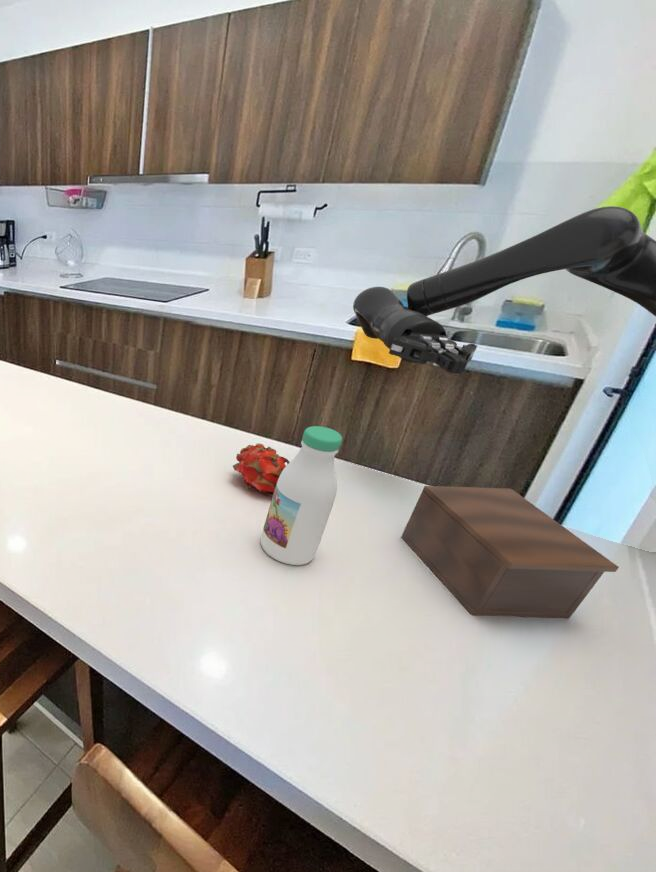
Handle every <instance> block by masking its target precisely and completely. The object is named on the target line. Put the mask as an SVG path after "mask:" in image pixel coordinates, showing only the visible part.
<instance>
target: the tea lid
mask: <svg viewBox="0 0 656 872" xmlns="http://www.w3.org/2000/svg"><path fill="white" fill-rule="evenodd" d="M422 491H424V492H425V493H427V494H428V495H429V496H430V497H431V498H432V499H433V500H434V501H435V502H436V503H438V504H439V505H440V506H441V507H442V508H443V509H444V510H445V511H446V512H447V513H449V514H450V515H451V516H452V517H453V518H454V519H455V520H456V521H457V522H458V523H459V524H461V525H462V526H463V527H464V528H465V529H466V530H467V531H468V532H469V533H470V534H472V535H473V536H474V537H475V538H476V539H477V540H478V541H479V542H480V543H481V544H482V545H484V546H485V547H486V548H487V549H488V550H489V551H490V552H491V553H492V554H493V555H495V556H496V557H497V558H498V559H499V560H500V561H501V562H502V563H503V564H504V565H505V566H507V567H508V568H510V569H540V570H570V571H600V572H604V573H616V572H617V571H618V569H620V568H619V567H620V566H618V565H617V564H616V563H614V562H613V561H611V560H610V559H609V558H607V556H605V555H603V554H602V553H601V552H599V551H598V550H597V549H596V548H595V549H594V548H593V547H592V546H591V545H589V544H588V543H586V542H585V541H584V540H582V539H581V538H580V537H578V536H577V535H575V534H574V533H573V532H571V531H570V530H569V529H567V528H566V527H565V526H563V525H561V524H560V523H559V522H558V521H556V520H555V519H554V518H553V517H551V516H549V515H548V514H546V513H545V512H544V511H543V510H541V509H540V508H538V507H537V506H536V505H534V504H533V503H531V502H530V501H529V500H528V499H526V498H524V497H523V496H522V495H520V494H519V493H518V492H517V491H515V490H514V489H512V488H509V487H508V488H505V487H476V486H475V487H473V486H472V487H471V486H443V485H442V486H440V485H424V486H423V488H422Z"/></svg>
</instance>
